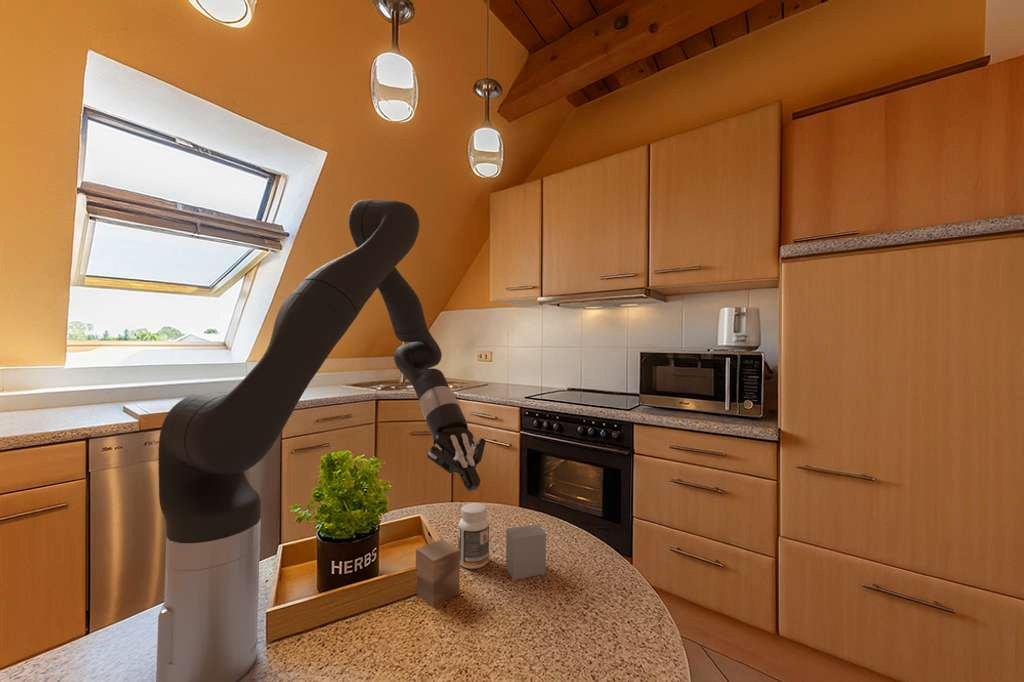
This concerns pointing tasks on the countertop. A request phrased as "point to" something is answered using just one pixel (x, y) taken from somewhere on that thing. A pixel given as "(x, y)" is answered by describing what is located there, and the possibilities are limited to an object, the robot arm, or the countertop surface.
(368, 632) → the countertop surface
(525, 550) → the slate block
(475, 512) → the pill bottle
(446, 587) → the walnut block
